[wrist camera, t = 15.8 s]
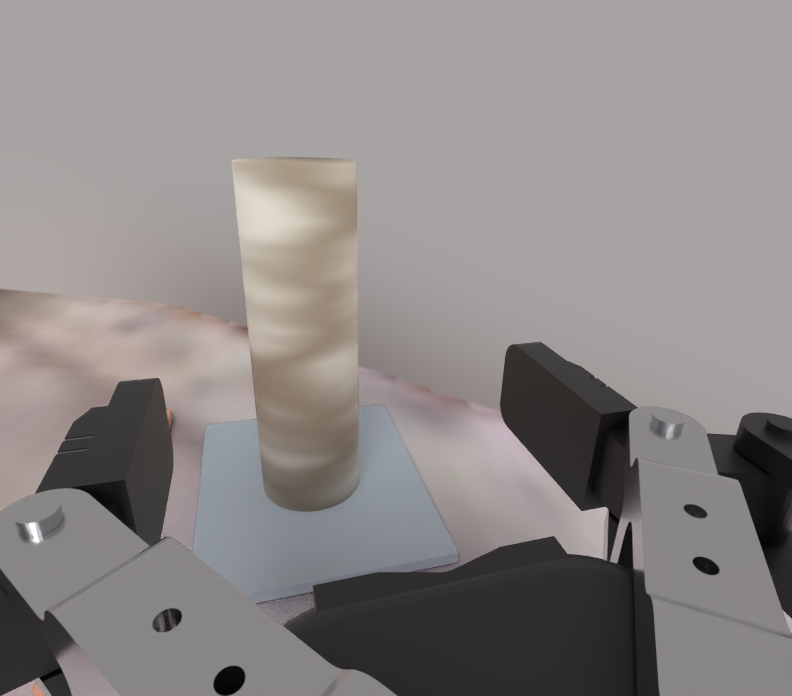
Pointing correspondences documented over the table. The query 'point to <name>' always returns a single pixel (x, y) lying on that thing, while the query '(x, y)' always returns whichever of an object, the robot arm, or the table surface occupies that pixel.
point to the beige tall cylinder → (302, 323)
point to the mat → (314, 516)
